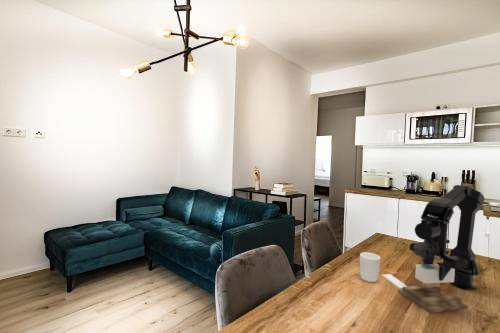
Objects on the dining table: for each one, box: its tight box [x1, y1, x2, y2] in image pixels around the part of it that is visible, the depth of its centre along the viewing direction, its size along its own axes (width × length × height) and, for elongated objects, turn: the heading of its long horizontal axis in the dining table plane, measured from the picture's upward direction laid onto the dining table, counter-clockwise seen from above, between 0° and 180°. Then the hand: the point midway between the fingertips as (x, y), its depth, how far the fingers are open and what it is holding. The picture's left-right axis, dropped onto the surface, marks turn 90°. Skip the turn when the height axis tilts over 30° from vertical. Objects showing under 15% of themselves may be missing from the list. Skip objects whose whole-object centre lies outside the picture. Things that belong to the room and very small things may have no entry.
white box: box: [414, 263, 455, 284], centre depth 98 cm, size 12×4×5 cm, turn 98°
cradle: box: [397, 283, 468, 314], centre depth 98 cm, size 16×14×3 cm
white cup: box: [359, 251, 381, 283], centre depth 114 cm, size 8×8×10 cm
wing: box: [381, 273, 407, 289], centre depth 111 cm, size 4×12×1 cm, turn 6°
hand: (434, 277), depth 98 cm, fingers closed on white box, 5 cm apart
